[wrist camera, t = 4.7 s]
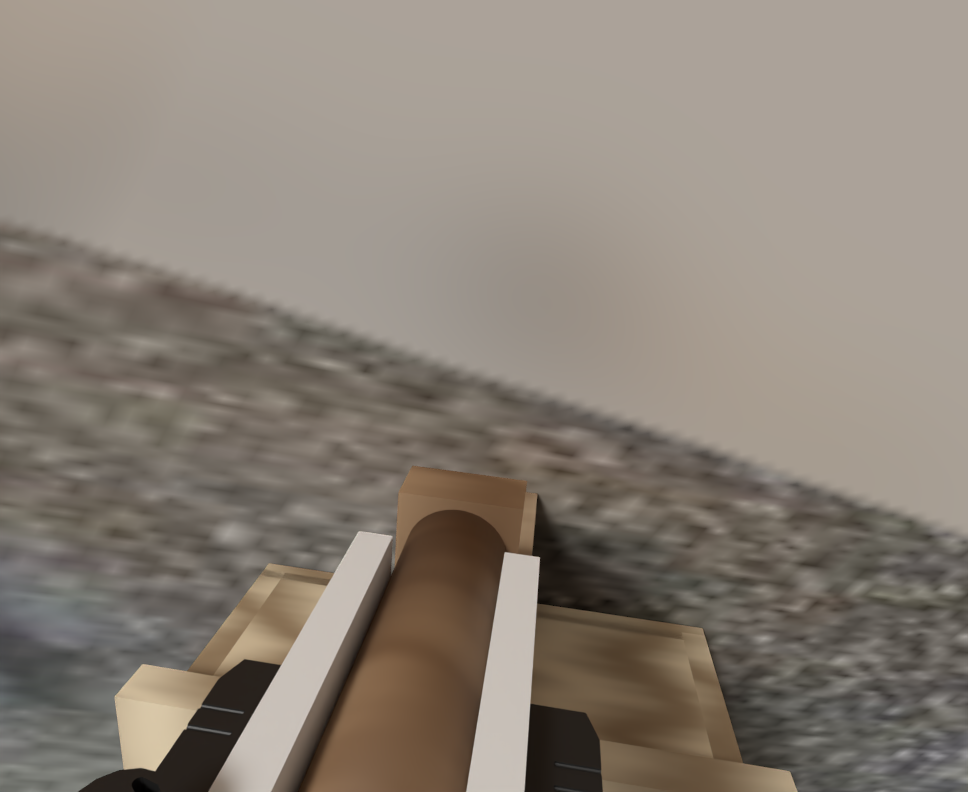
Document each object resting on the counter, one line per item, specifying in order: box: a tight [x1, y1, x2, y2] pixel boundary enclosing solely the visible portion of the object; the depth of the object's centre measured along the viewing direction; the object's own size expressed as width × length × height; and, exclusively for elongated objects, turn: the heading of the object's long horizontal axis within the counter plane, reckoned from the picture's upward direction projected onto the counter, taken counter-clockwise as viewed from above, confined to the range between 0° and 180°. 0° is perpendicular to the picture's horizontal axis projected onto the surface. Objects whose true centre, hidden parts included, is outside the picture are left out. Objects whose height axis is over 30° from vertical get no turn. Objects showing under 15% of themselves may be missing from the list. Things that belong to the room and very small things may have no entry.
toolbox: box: [187, 492, 743, 763], centre depth 26 cm, size 20×18×10 cm
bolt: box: [298, 466, 527, 792], centre depth 13 cm, size 3×8×12 cm, turn 175°
